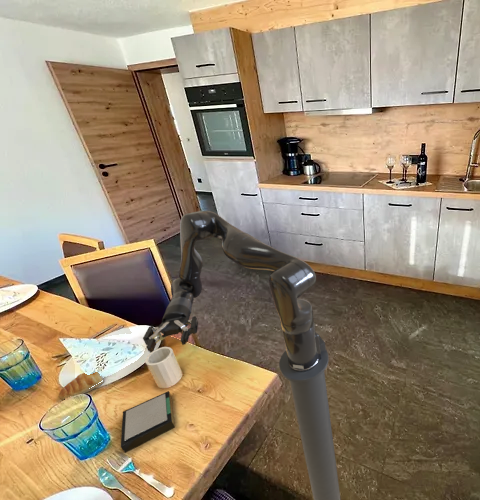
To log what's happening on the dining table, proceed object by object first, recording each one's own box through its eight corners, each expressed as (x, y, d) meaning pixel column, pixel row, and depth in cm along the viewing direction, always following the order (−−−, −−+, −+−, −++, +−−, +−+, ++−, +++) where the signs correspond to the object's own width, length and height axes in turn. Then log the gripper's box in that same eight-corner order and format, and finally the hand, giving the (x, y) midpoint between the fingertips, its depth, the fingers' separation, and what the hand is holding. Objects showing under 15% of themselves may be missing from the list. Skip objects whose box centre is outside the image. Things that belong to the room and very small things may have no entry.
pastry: (63, 407, 75) (56, 397, 74) (59, 393, 79) (52, 383, 78) (107, 382, 82) (101, 373, 80) (100, 371, 86) (95, 361, 84)
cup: (181, 365, 86) (171, 343, 82) (183, 380, 81) (173, 357, 77) (156, 376, 83) (145, 353, 79) (157, 392, 78) (145, 369, 74)
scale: (171, 396, 77) (168, 389, 75) (175, 427, 69) (171, 420, 68) (126, 417, 72) (122, 410, 71) (124, 453, 64) (119, 445, 63)
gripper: (150, 309, 94) (133, 343, 80) (197, 299, 98) (189, 330, 84) (158, 326, 98) (143, 362, 84) (203, 316, 101) (197, 349, 87)
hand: (166, 346), depth 84 cm, fingers open, 8 cm apart
